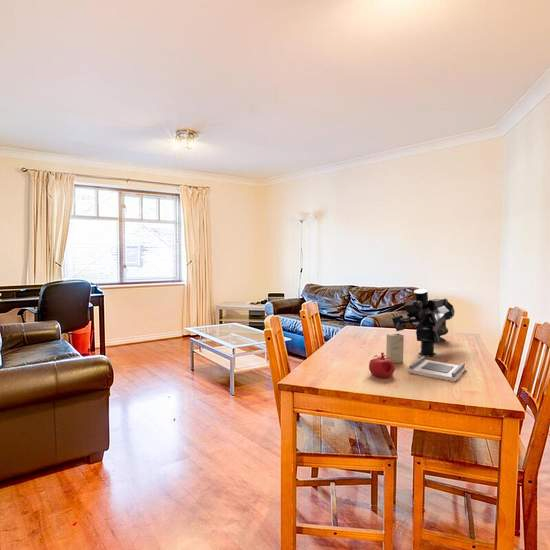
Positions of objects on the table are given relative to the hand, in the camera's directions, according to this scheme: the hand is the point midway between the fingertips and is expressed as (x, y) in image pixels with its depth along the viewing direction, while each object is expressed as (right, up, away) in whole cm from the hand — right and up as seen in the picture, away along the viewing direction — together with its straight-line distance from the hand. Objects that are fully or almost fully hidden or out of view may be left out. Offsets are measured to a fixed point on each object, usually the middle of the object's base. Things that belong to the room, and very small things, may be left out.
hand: (406, 329), depth 167 cm
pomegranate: (-13, -17, -11) cm, 24 cm away
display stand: (+11, -17, -6) cm, 21 cm away
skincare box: (-2, -16, +8) cm, 18 cm away
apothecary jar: (+33, -13, +49) cm, 61 cm away
